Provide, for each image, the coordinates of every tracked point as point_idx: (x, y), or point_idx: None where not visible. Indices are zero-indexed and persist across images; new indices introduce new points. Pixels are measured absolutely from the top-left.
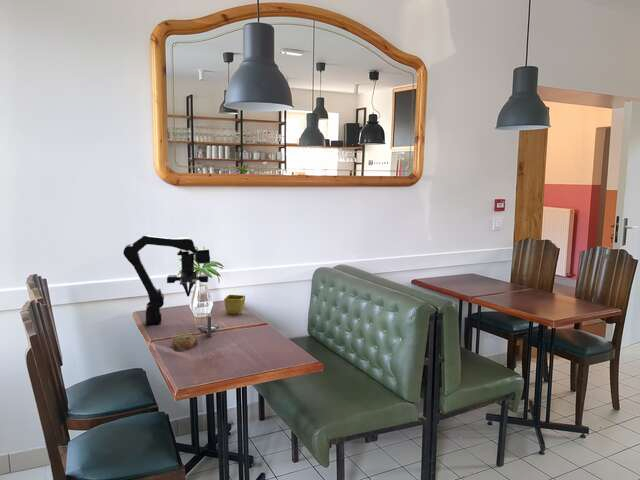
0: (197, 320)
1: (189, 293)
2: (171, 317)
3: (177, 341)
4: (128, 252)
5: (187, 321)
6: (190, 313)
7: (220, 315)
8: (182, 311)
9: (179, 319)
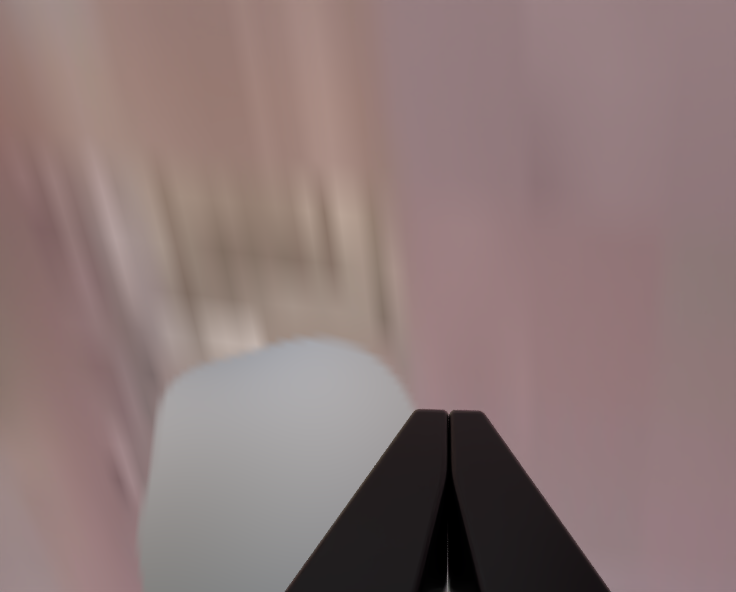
0: (301, 147)
1: (386, 475)
2: (729, 352)
3: None
4: None
5: (468, 107)
6: None
7: (13, 350)
8: None
9: (606, 237)
